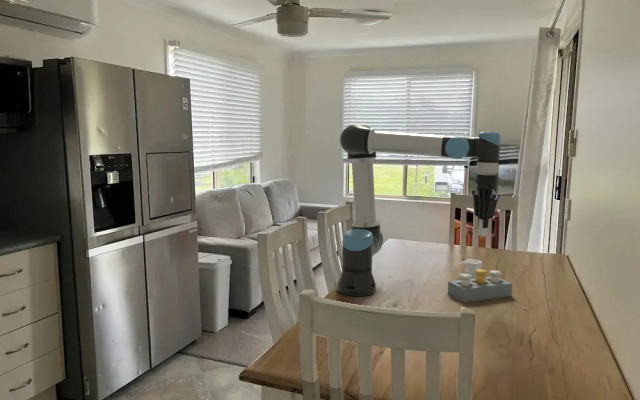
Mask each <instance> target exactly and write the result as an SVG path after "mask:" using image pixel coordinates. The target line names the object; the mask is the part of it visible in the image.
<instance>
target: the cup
mask: <svg viewBox="0 0 640 400" xmlns="http://www.w3.org/2000/svg"><path fill="white" fill-rule="evenodd" d="M461 264H462V265H464V266H465V274H470V275H472V278H476V273H475V270H476V269H482V264H483V262H482V261H481V260H479V259H474V258H472V259H465V260H464V261H463V262H459V263H458V265H457V267H456V271H457V274H458V275H459V276H460V274H461V273H460V272H459V267H460V265H461ZM472 278H471V279H472Z"/></svg>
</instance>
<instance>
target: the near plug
mask: <svg viewBox="0 0 640 400" xmlns="http://www.w3.org/2000/svg"><path fill="white" fill-rule="evenodd" d="M459 278H460V280H461V286H463V287H467V286H470V279H471V278H472V275H470V274H466V273H460V275H459Z"/></svg>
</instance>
